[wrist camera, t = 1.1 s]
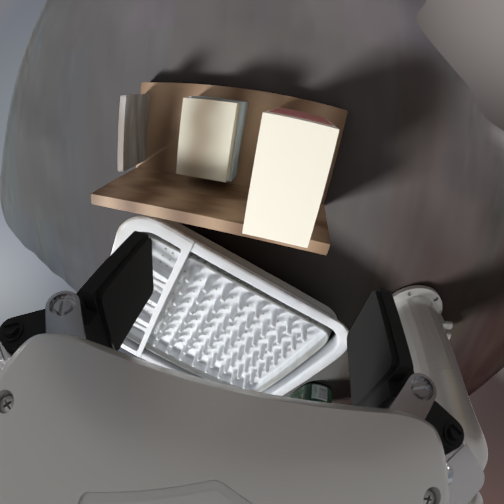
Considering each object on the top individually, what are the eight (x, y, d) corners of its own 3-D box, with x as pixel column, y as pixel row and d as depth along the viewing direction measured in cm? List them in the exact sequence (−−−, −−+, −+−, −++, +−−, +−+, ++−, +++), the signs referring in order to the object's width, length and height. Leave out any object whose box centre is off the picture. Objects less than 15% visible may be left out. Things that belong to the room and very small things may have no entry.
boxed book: (323, 116, 28) (339, 128, 16) (306, 189, 33) (307, 248, 21) (279, 106, 28) (262, 111, 16) (265, 180, 33) (242, 233, 21)
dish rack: (261, 385, 59) (256, 415, 52) (113, 308, 54) (95, 333, 48) (361, 302, 43) (367, 338, 36) (153, 180, 38) (123, 200, 31)
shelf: (345, 109, 29) (367, 115, 19) (320, 207, 36) (326, 255, 26) (149, 82, 30) (91, 84, 20) (143, 172, 37) (91, 203, 27)
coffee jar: (312, 404, 60) (306, 472, 45) (285, 395, 59) (275, 466, 44) (338, 388, 55) (337, 463, 40) (310, 377, 54) (304, 457, 39)
